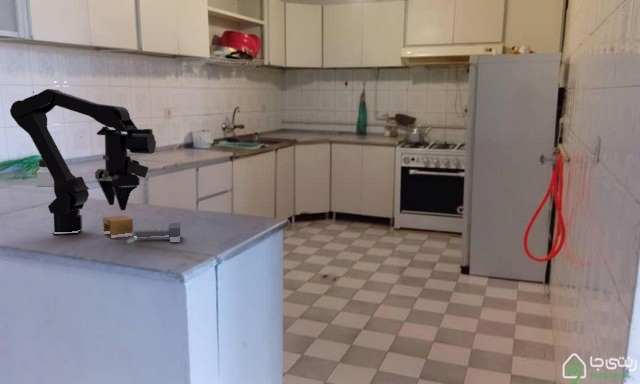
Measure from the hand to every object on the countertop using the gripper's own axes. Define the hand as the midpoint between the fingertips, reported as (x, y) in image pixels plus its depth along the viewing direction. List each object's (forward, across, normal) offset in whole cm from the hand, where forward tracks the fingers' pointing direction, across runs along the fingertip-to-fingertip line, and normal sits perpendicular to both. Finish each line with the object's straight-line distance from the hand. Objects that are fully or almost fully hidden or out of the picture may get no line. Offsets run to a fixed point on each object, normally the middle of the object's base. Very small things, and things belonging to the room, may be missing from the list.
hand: (117, 207), depth 143 cm
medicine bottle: (+9, +112, -7) cm, 112 cm away
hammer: (+8, -11, -7) cm, 15 cm away
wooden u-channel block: (+8, 0, 0) cm, 8 cm away
